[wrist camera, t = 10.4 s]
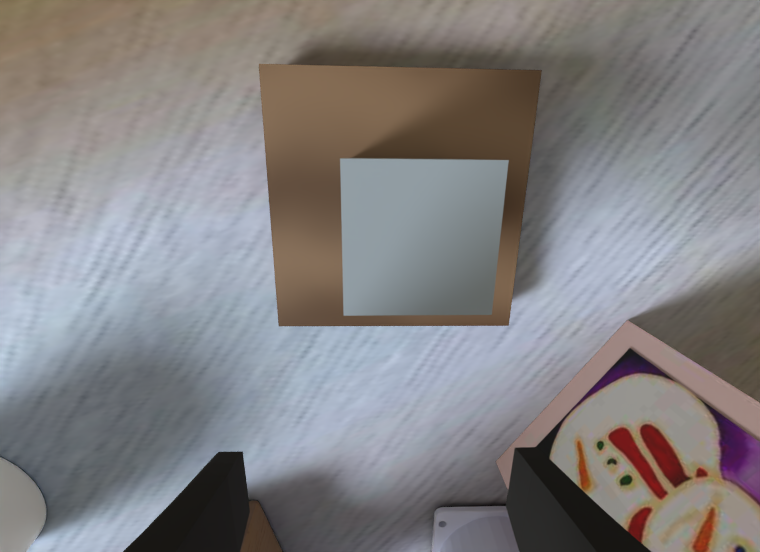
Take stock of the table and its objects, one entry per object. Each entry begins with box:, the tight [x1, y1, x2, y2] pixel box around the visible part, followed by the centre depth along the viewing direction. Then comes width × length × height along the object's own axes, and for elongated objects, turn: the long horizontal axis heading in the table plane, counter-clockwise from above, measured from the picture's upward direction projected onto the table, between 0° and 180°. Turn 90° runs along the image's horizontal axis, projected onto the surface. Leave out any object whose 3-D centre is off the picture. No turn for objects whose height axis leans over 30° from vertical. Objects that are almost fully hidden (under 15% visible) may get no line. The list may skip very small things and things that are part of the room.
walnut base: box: [259, 64, 542, 326], centre depth 17 cm, size 11×11×2 cm
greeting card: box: [496, 320, 760, 552], centre depth 15 cm, size 11×7×15 cm, turn 146°
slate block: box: [340, 158, 509, 316], centre depth 13 cm, size 4×4×7 cm
